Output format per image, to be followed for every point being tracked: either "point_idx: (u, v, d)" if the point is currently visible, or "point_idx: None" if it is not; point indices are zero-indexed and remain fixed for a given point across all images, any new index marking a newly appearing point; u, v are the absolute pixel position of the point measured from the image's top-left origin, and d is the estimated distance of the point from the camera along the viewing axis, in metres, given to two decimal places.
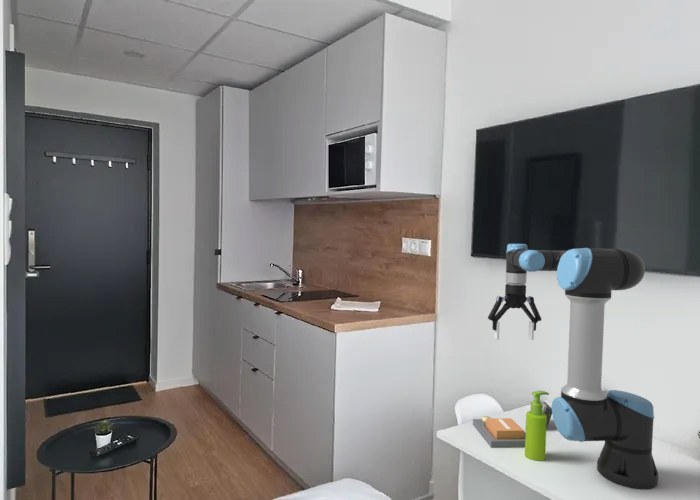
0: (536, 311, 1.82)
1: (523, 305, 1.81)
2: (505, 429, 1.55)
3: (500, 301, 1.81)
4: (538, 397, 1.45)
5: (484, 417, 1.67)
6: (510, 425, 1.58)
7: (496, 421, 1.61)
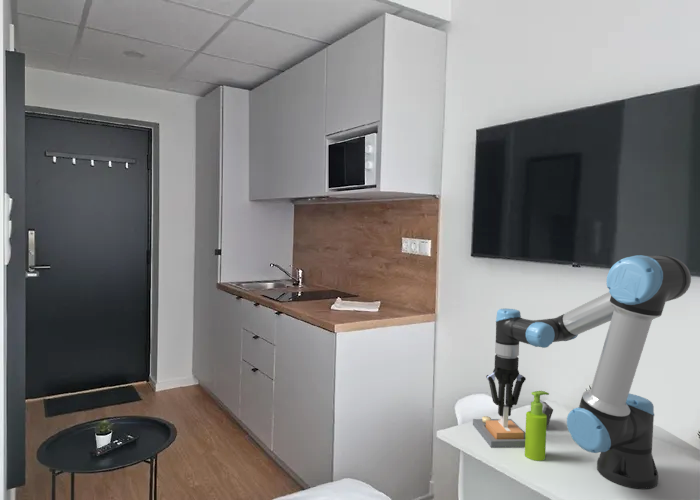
0: (518, 393, 1.58)
1: (511, 382, 1.57)
2: (505, 431, 1.55)
3: (492, 381, 1.57)
4: (538, 397, 1.45)
5: (484, 417, 1.67)
6: (510, 427, 1.58)
7: (496, 423, 1.61)
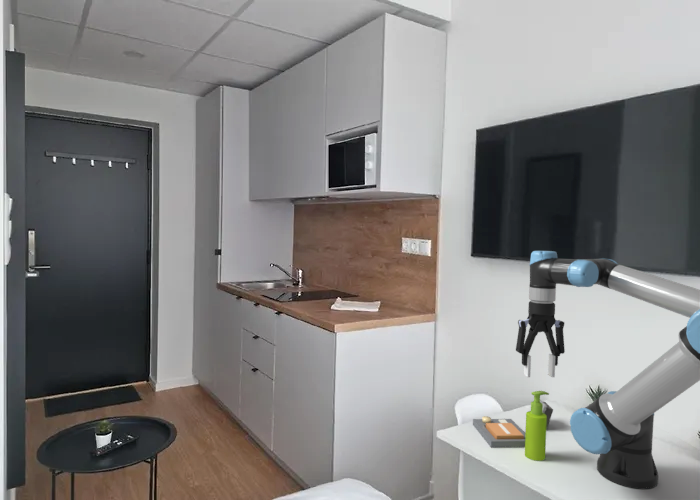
0: (561, 340, 1.44)
1: (549, 329, 1.43)
2: (505, 434, 1.55)
3: (524, 327, 1.43)
4: (538, 397, 1.45)
5: (484, 417, 1.67)
6: (510, 430, 1.58)
7: (496, 426, 1.61)
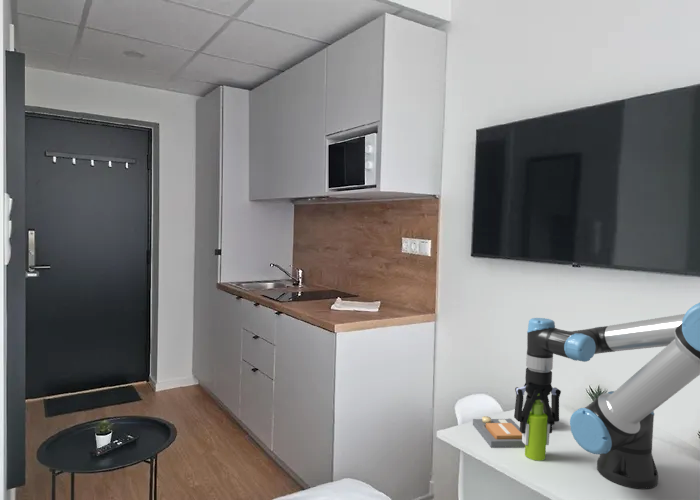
0: (557, 408, 1.45)
1: (546, 398, 1.44)
2: (505, 434, 1.55)
3: (521, 395, 1.44)
4: None
5: (484, 417, 1.67)
6: (510, 430, 1.58)
7: (496, 426, 1.61)
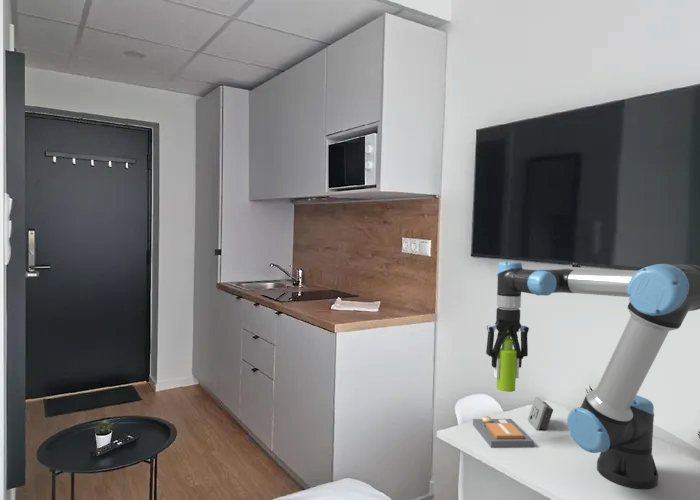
0: (525, 344, 1.57)
1: (515, 334, 1.56)
2: (505, 434, 1.55)
3: (492, 332, 1.56)
4: None
5: (484, 417, 1.67)
6: (510, 430, 1.58)
7: (496, 426, 1.61)
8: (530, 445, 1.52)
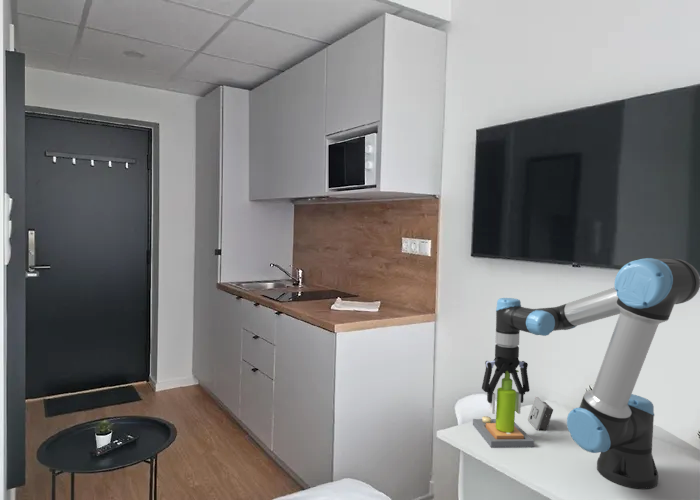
0: (526, 380, 1.58)
1: (514, 371, 1.57)
2: (505, 434, 1.55)
3: (490, 368, 1.57)
4: (508, 374, 1.57)
5: (484, 417, 1.67)
6: None
7: None
8: (530, 445, 1.52)
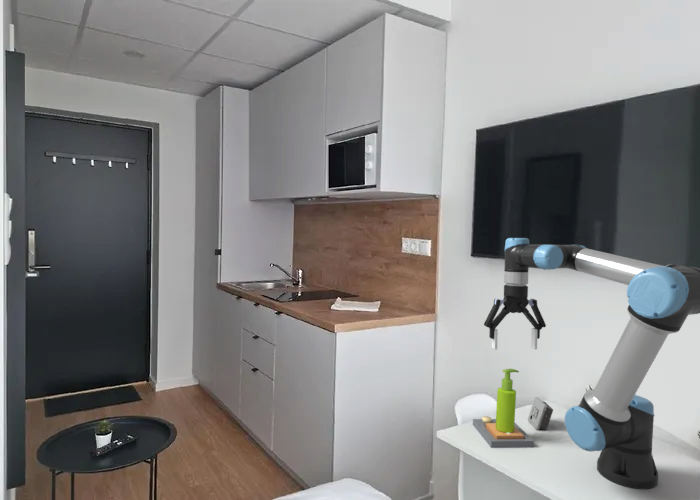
0: (540, 316, 1.57)
1: (525, 309, 1.56)
2: (505, 434, 1.55)
3: (498, 305, 1.55)
4: (508, 374, 1.57)
5: (484, 417, 1.67)
6: None
7: None
8: (530, 445, 1.52)
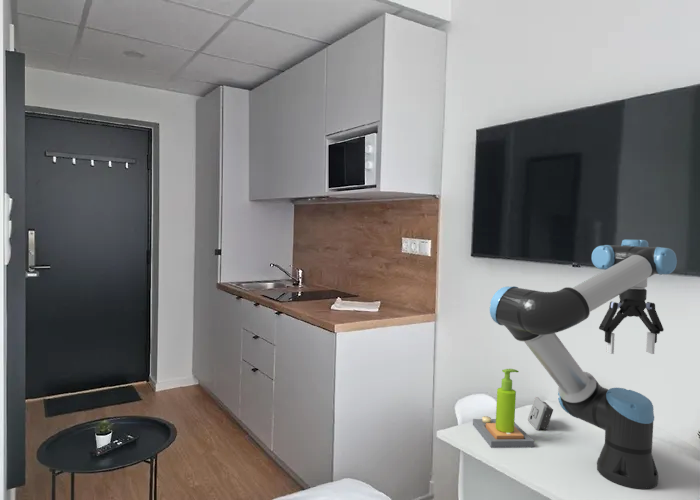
0: (657, 320, 1.52)
1: (643, 313, 1.51)
2: (505, 434, 1.55)
3: (615, 308, 1.51)
4: (508, 374, 1.57)
5: (484, 417, 1.67)
6: None
7: None
8: (530, 445, 1.52)
